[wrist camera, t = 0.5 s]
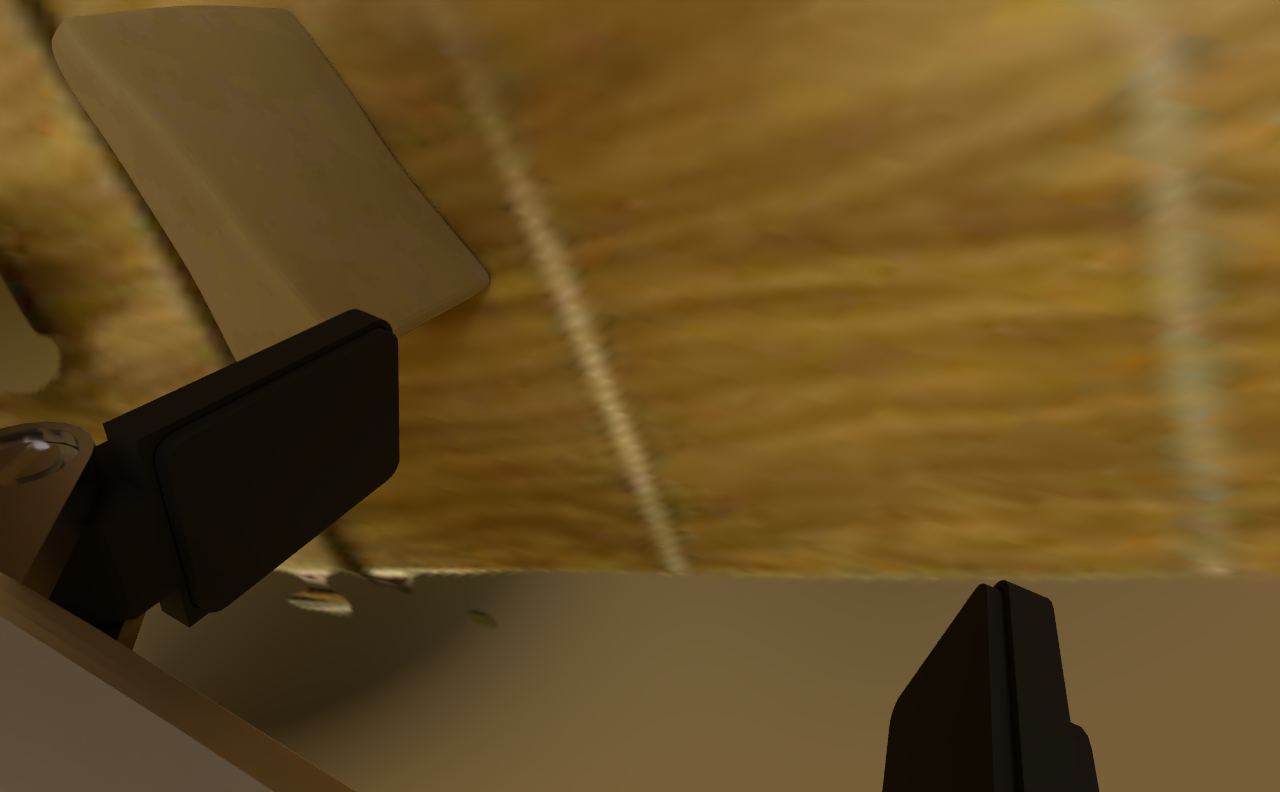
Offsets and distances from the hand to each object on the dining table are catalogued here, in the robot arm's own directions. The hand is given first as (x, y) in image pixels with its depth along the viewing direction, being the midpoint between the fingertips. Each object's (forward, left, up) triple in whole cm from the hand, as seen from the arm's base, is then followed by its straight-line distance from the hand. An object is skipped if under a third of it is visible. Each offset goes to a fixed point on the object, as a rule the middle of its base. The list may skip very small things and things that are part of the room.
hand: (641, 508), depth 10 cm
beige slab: (+9, -33, -31) cm, 46 cm away
